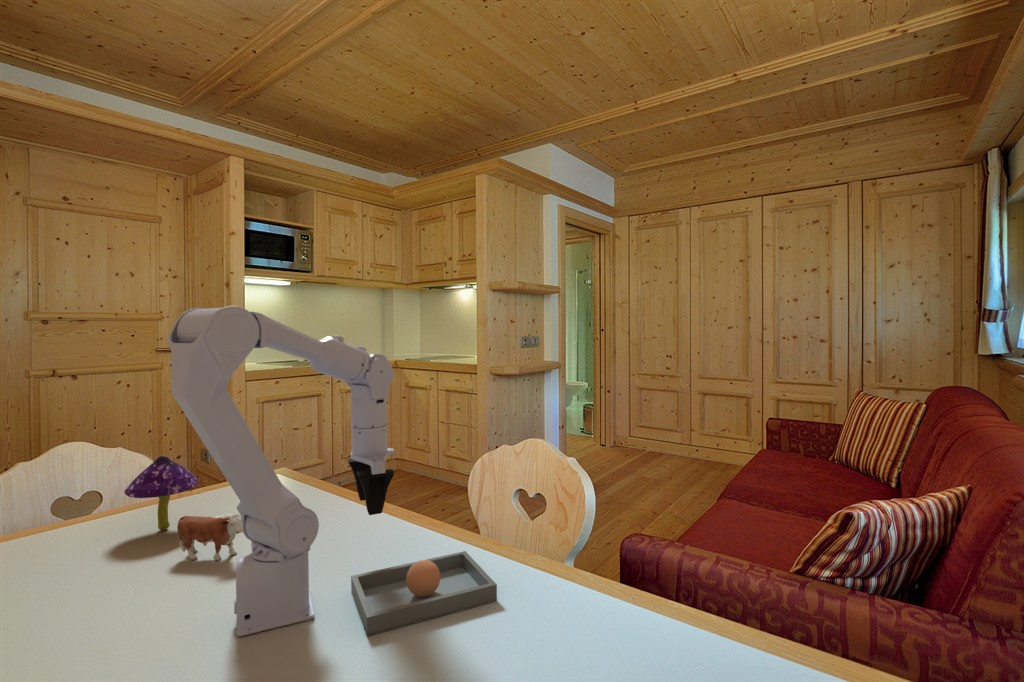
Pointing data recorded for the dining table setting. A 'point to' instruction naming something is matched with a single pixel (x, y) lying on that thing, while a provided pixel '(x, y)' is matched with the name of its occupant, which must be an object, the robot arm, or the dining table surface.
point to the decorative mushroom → (161, 485)
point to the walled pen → (395, 606)
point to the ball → (423, 578)
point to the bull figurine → (209, 532)
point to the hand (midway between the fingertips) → (370, 506)
